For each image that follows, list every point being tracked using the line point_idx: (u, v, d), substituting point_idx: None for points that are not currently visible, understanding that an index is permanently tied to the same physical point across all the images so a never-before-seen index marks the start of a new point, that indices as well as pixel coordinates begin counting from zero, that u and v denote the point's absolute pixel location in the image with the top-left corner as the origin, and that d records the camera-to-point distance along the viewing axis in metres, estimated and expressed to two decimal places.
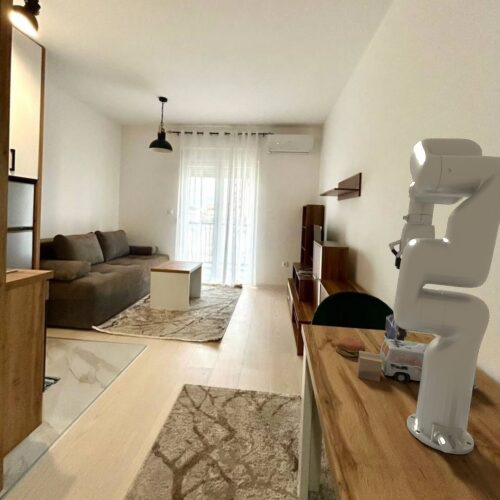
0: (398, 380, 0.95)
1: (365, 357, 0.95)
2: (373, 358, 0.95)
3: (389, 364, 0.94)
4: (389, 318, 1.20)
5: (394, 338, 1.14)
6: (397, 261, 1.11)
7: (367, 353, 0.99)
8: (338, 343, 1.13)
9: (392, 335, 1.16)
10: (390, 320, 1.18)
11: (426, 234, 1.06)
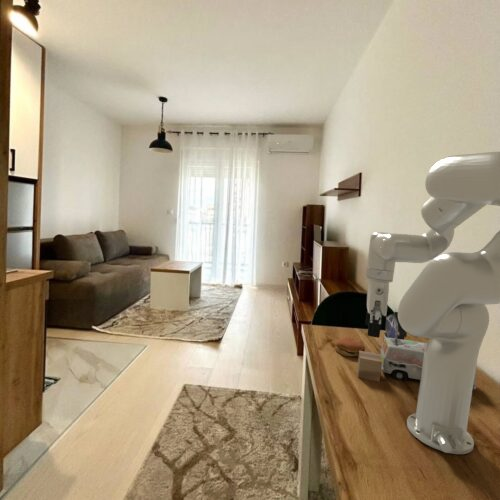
0: (396, 378, 0.96)
1: (365, 357, 0.95)
2: (373, 358, 0.95)
3: (387, 361, 0.96)
4: (389, 318, 1.20)
5: None
6: (377, 328, 0.91)
7: (367, 353, 0.99)
8: (338, 343, 1.13)
9: (392, 335, 1.16)
10: (390, 320, 1.18)
11: None
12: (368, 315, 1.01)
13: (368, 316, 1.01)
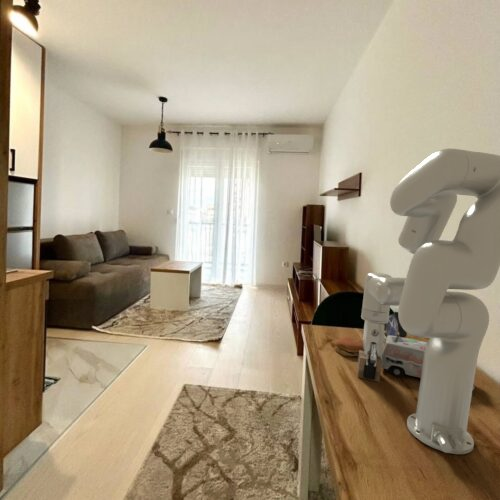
0: (394, 374, 0.99)
1: (365, 357, 0.95)
2: None
3: (384, 357, 0.99)
4: (389, 318, 1.20)
5: None
6: (373, 371, 0.93)
7: None
8: (337, 343, 1.13)
9: (392, 335, 1.16)
10: (390, 320, 1.18)
11: None
12: None
13: None
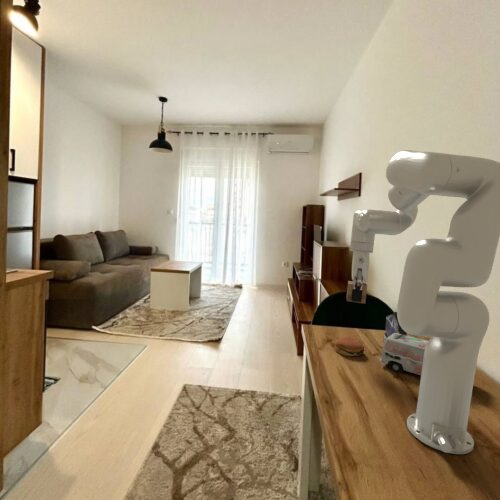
0: (392, 369, 1.02)
1: (353, 283, 1.10)
2: None
3: (384, 352, 1.03)
4: (389, 318, 1.20)
5: None
6: (359, 294, 1.08)
7: None
8: (337, 343, 1.13)
9: None
10: (390, 320, 1.18)
11: None
12: None
13: None
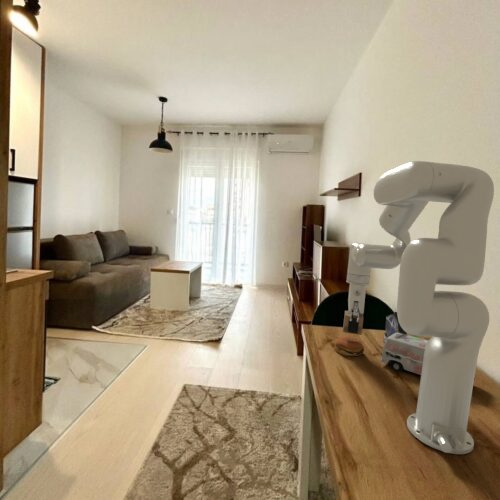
0: (393, 368, 1.03)
1: (349, 315, 1.11)
2: None
3: (384, 351, 1.04)
4: (389, 318, 1.20)
5: None
6: (356, 326, 1.09)
7: None
8: (337, 342, 1.14)
9: None
10: (390, 320, 1.18)
11: None
12: None
13: None
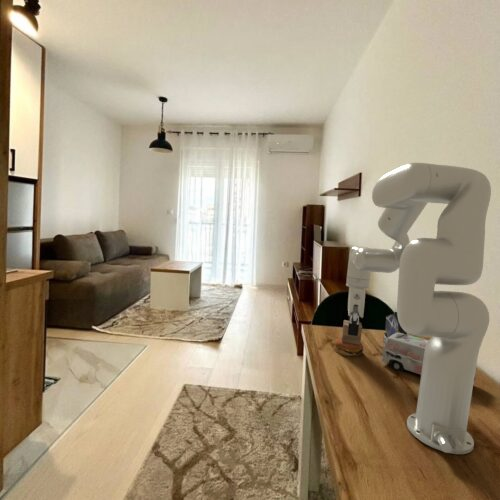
0: (393, 368, 1.03)
1: (348, 324, 1.12)
2: None
3: (385, 351, 1.04)
4: (389, 318, 1.20)
5: None
6: (356, 328, 1.08)
7: None
8: (336, 342, 1.14)
9: None
10: (390, 320, 1.18)
11: None
12: (349, 317, 1.18)
13: (349, 318, 1.18)
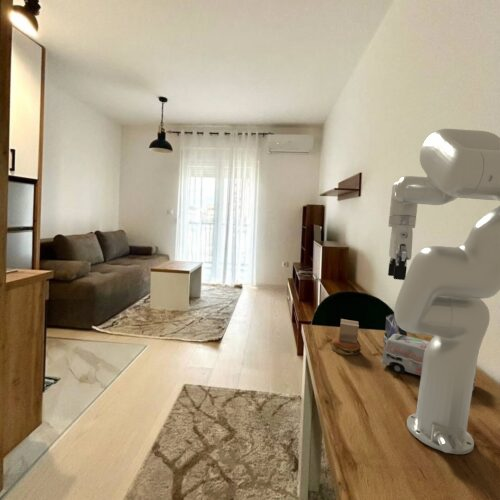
0: (394, 370, 1.01)
1: (345, 323, 1.13)
2: (351, 324, 1.13)
3: (385, 353, 1.02)
4: (389, 318, 1.20)
5: None
6: (403, 271, 0.95)
7: (347, 320, 1.16)
8: (334, 342, 1.15)
9: None
10: (390, 320, 1.18)
11: None
12: (391, 265, 1.05)
13: (391, 266, 1.05)
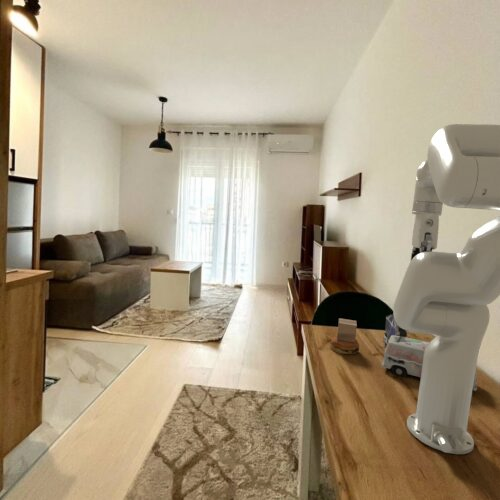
0: (396, 373, 0.99)
1: (343, 322, 1.13)
2: (349, 323, 1.13)
3: (386, 357, 1.00)
4: (389, 318, 1.20)
5: None
6: None
7: (345, 320, 1.17)
8: (333, 341, 1.15)
9: None
10: (390, 320, 1.18)
11: None
12: (413, 255, 0.99)
13: (413, 256, 0.99)
